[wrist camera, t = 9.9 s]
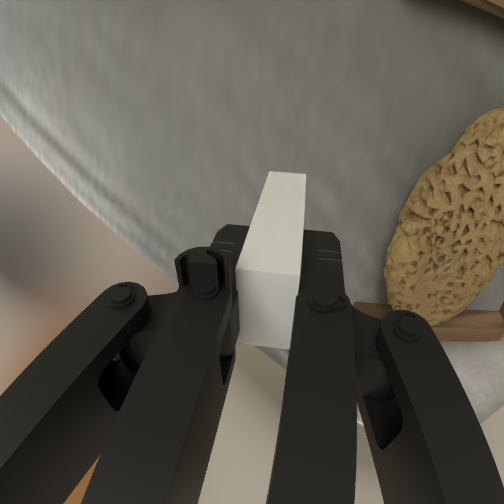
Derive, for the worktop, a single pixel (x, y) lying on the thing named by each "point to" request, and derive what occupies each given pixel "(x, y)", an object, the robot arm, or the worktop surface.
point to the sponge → (451, 227)
